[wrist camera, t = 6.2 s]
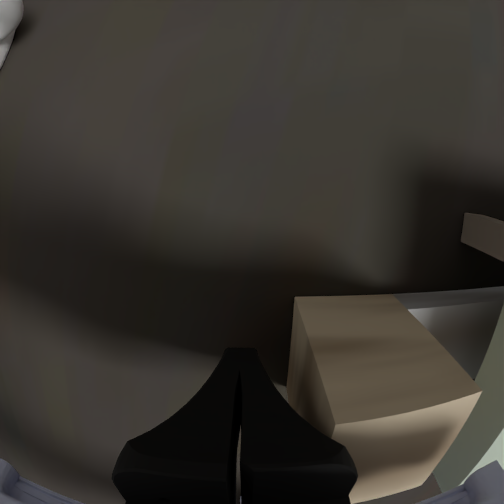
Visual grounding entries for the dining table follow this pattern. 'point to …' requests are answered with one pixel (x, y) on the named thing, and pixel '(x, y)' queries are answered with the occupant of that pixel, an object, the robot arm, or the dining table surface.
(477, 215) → the green top stand
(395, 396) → the beige piece
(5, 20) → the mug
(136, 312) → the dining table surface
